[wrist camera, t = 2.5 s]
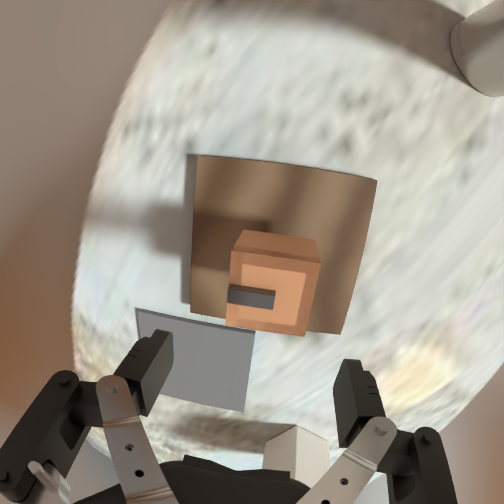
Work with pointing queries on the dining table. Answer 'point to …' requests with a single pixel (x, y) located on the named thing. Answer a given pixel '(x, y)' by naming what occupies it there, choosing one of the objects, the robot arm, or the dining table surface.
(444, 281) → the dining table surface
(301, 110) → the dining table surface
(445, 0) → the dining table surface
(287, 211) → the brown board
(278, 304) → the tan cube with tab
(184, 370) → the mat
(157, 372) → the robot arm
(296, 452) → the milk carton
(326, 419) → the dining table surface
